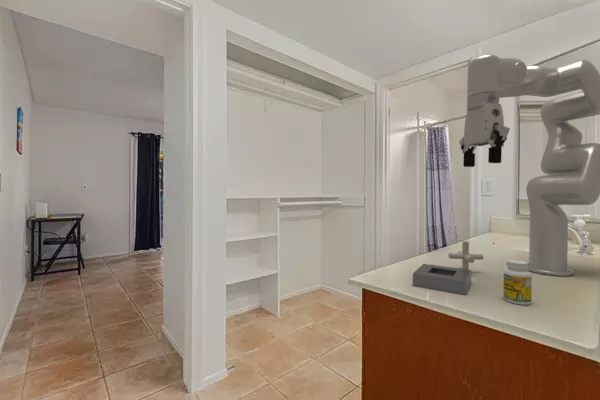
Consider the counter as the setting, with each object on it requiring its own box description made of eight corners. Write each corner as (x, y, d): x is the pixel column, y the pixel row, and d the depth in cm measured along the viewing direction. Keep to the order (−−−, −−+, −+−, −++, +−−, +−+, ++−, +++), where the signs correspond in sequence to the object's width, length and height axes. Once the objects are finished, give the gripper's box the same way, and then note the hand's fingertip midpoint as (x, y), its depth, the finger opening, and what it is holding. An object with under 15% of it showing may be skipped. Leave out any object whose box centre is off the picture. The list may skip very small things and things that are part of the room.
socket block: (423, 274, 91) (423, 263, 91) (470, 281, 83) (470, 270, 83) (412, 285, 80) (412, 273, 80) (465, 295, 72) (465, 281, 72)
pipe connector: (489, 276, 88) (489, 244, 88) (454, 275, 90) (454, 243, 90) (475, 268, 98) (476, 239, 97) (444, 267, 100) (444, 238, 99)
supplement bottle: (536, 303, 67) (536, 262, 67) (523, 307, 65) (523, 265, 64) (511, 295, 72) (511, 258, 72) (498, 299, 70) (498, 260, 69)
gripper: (522, 93, 71) (520, 161, 71) (473, 113, 88) (472, 168, 88) (494, 91, 70) (492, 160, 70) (450, 112, 87) (449, 167, 87)
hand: (481, 164), depth 79 cm, fingers open, 9 cm apart
